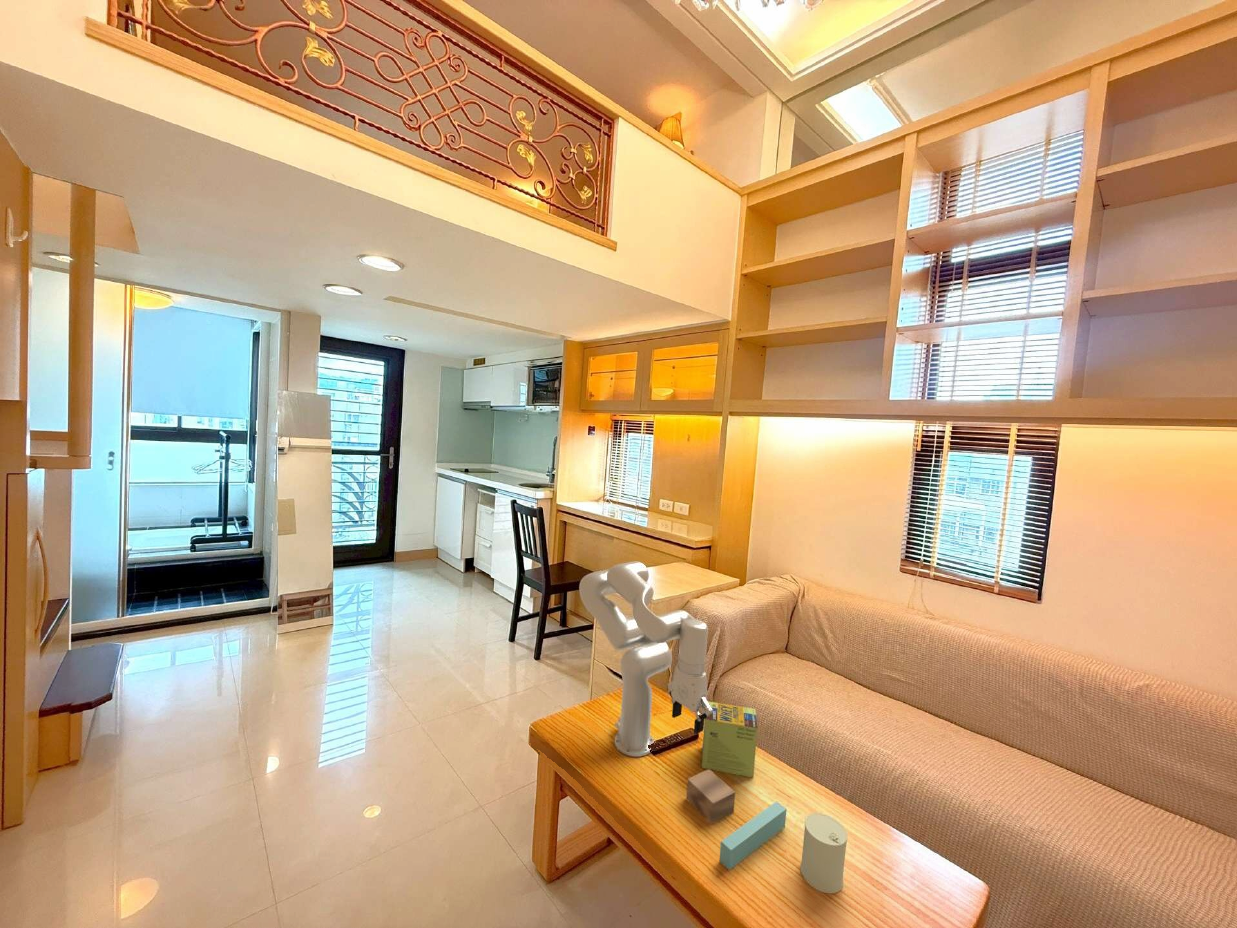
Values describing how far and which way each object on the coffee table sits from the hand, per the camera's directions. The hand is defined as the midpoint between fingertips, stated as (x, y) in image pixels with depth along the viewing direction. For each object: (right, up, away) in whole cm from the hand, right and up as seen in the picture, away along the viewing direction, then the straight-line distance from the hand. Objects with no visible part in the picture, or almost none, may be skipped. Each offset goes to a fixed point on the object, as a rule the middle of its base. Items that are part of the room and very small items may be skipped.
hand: (687, 723), depth 140 cm
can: (+28, -22, -26) cm, 43 cm away
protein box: (+14, -18, +12) cm, 26 cm away
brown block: (+5, -19, -6) cm, 21 cm away
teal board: (+14, -20, -18) cm, 30 cm away
